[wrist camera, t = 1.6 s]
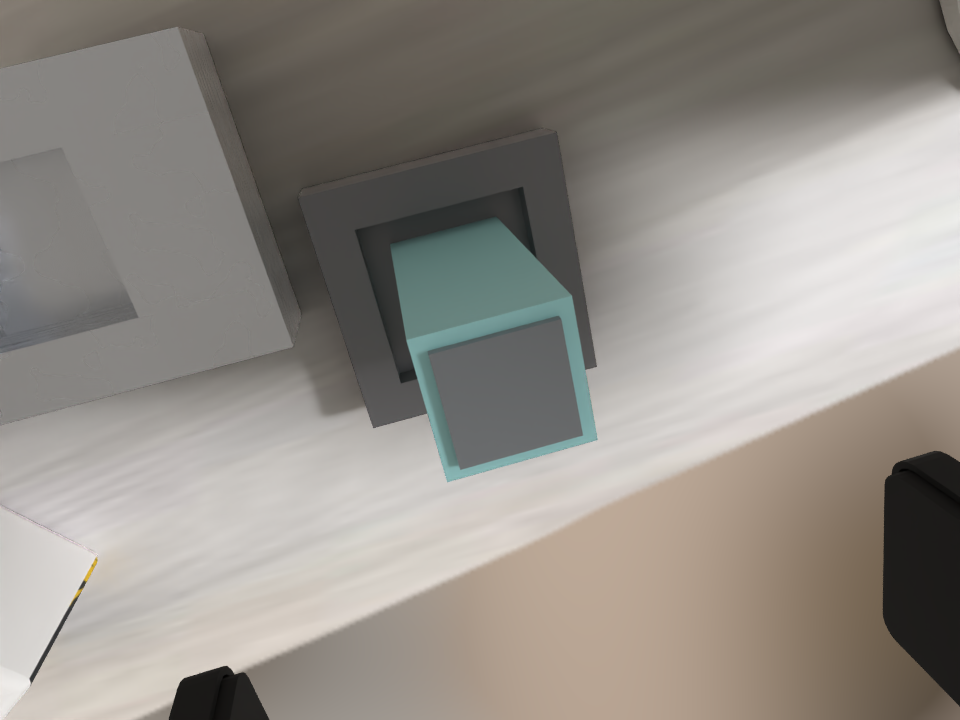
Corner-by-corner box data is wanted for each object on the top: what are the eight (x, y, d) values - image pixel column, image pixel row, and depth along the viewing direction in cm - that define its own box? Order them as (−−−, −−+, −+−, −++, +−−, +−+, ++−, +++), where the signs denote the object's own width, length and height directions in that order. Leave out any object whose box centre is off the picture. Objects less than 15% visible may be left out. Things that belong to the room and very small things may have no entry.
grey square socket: (542, 128, 26) (556, 132, 24) (581, 348, 29) (596, 366, 27) (302, 188, 25) (297, 197, 23) (372, 405, 29) (373, 428, 27)
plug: (496, 216, 25) (574, 298, 16) (517, 316, 27) (600, 444, 18) (389, 243, 25) (407, 344, 16) (417, 343, 27) (448, 487, 17)
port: (203, 33, 23) (175, 26, 19) (301, 314, 27) (293, 349, 23) (-237, 138, 22) (-346, 149, 19) (-67, 411, 26) (-131, 462, 23)
